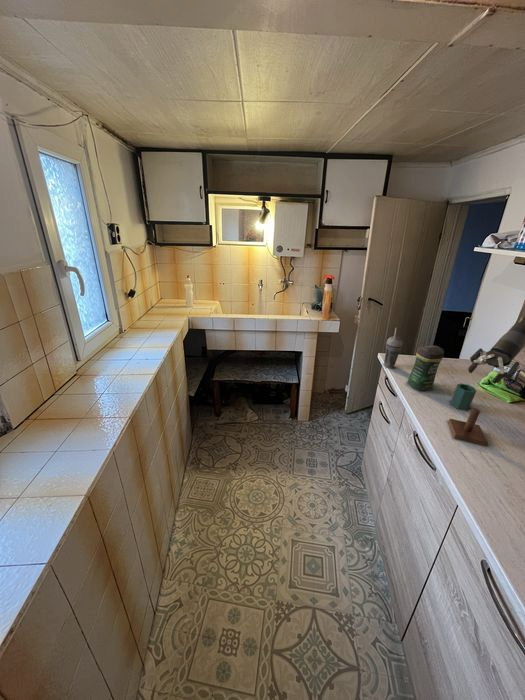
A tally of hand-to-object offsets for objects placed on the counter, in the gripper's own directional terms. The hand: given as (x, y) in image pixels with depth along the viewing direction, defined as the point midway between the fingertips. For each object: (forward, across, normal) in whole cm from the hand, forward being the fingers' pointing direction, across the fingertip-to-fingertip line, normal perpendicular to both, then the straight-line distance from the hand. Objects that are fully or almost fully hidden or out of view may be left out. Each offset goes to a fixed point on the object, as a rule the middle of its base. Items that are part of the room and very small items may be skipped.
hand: (481, 376), depth 107 cm
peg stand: (+23, -11, +7) cm, 27 cm away
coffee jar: (+15, +16, -1) cm, 22 cm away
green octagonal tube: (+13, 0, -3) cm, 13 cm away
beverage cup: (+13, +35, -3) cm, 37 cm away
